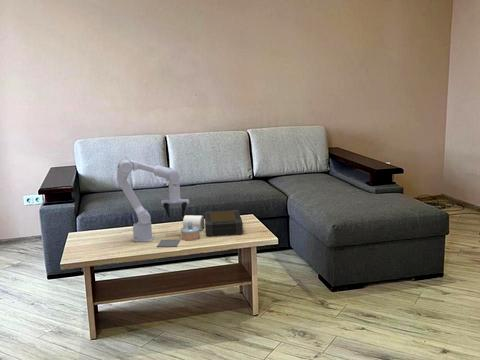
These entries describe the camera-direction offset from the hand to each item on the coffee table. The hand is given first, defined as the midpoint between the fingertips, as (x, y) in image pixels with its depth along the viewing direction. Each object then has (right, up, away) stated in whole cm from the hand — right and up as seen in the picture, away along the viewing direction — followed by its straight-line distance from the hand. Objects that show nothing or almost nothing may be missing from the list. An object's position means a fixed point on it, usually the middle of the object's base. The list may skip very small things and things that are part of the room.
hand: (176, 216), depth 268 cm
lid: (+8, -7, -4) cm, 11 cm away
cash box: (+25, -8, +10) cm, 28 cm away
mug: (+9, -8, +13) cm, 18 cm away
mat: (-2, -13, -11) cm, 18 cm away
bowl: (+8, -11, -3) cm, 14 cm away
